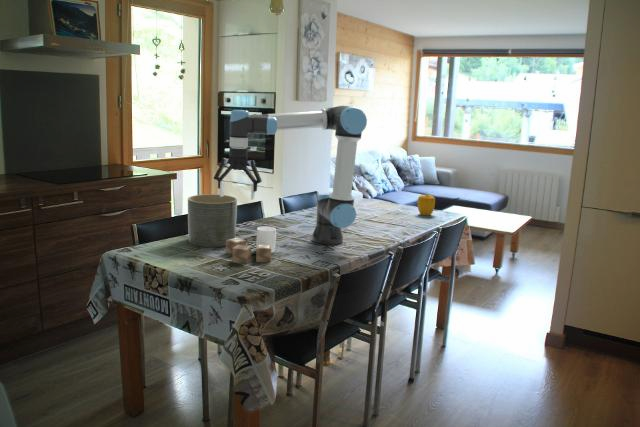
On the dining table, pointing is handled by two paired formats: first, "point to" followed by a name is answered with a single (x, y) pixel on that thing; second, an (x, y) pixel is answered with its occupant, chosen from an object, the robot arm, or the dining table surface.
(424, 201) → the yellow bell pepper
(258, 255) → the labelled cube
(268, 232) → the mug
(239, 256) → the plain cube
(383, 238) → the dining table surface
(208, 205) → the planter
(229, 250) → the labelled cube a
